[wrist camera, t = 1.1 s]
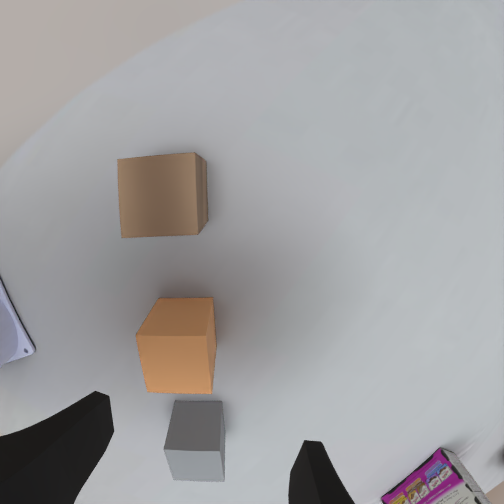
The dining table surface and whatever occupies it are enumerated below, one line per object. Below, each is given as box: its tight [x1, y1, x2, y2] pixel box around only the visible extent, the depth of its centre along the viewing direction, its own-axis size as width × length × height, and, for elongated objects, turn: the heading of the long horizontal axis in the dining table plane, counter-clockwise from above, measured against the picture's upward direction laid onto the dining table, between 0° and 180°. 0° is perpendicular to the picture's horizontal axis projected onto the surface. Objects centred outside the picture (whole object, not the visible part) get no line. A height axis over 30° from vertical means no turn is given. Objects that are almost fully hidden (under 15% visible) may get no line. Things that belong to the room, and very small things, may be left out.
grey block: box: [164, 401, 225, 482], centre depth 22 cm, size 4×4×6 cm
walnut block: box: [117, 153, 208, 238], centre depth 18 cm, size 4×4×6 cm
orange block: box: [136, 297, 217, 394], centre depth 20 cm, size 4×4×6 cm
